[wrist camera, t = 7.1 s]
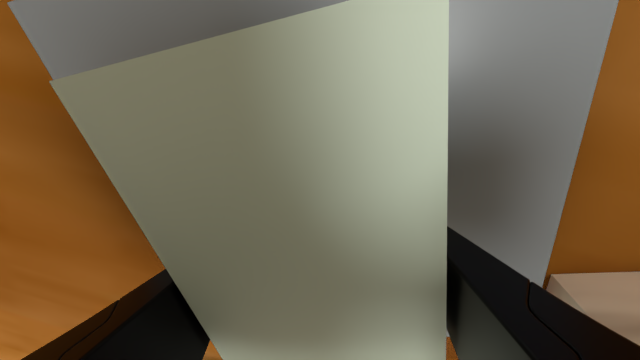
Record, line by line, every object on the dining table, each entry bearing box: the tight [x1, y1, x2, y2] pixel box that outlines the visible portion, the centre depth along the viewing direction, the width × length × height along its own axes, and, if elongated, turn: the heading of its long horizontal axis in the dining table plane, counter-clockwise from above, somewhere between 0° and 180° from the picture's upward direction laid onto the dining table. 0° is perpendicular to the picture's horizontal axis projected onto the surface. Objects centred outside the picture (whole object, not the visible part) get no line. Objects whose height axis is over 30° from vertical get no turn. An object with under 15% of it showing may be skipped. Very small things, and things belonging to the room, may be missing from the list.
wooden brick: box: [49, 0, 449, 360], centre depth 8 cm, size 12×6×4 cm, turn 12°
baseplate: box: [7, 0, 619, 337], centre depth 11 cm, size 18×18×1 cm
